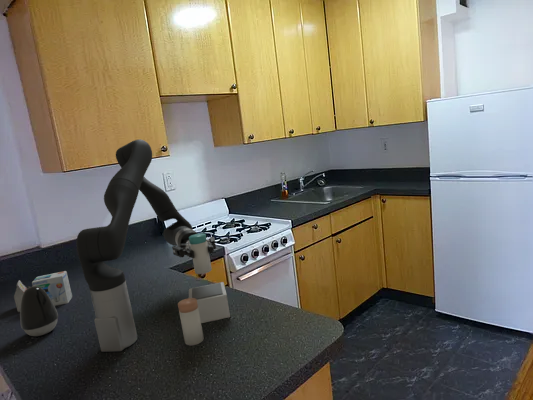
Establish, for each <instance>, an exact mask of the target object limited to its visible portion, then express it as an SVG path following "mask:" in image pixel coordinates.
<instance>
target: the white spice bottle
mask: <svg viewBox="0 0 533 400" xmlns="http://www.w3.org/2000/svg"><path fill="white" fill-rule="evenodd" d="M177 307H178V308H177V309H178V312H179V318H180V323H181V328H182V333H183V340H184V344H185V345H186V346H196V345H198V344H200V343H202V342H203V341H204V340H205V339H204V337H205V336H204V332H203V327H202V323H201V320H200V315H199V309H198V304H197V299H195V298H189V297H188V298H185V299H181V300H180V301H179V302H178V303H177Z"/></svg>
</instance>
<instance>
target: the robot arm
mask: <svg viewBox="0 0 533 400" xmlns="http://www.w3.org/2000/svg"><path fill="white" fill-rule="evenodd" d="M115 159H116V161H117V163H118V165H119V166H120V167H121V168H120V169H119V170H118V171H117V172H116V173H115V174H114V176H112V177H111V179H110V181H109V182H108V185H107V187H106V189H105V192H104V195H103V201H104V205H105V207H106V210H107V211H108V213H110V215H111V220H110V223H109V224H108V225H105V226H99V227H97V226H96V227H90V228H85V229H81V230H80V231H79V232H78V235H77V236H76V241H75V243H76V250H77V251H76V252H77V255H78V259H79V262H80V265H81V270H82V274H83V276H84V280H85V282H86V283H87V285H88V290H89V293H90V296H91V303H92V305H93V310H94V315H95V318H94V326H95V330H96V334H97V339H98V342H99V346H100V351H101V352H103V353H104V352H122V351H123V350H124V349H126V348H128V347H130V346H132V345H133V344H135V342H136V341H137V340H138V333H137V329H136V324H135V320H134V314H133V309H132V305H131V300H130V296H129V290H128V286H127V280H126V276H125V272H124V271H123V270H122V269H120V268H117V267H116V268H115V267H113V266H110V265H108V264H106V263H105V262H109V261H114V260H117V259H119V258H120V257H121V256H122V254H123V252H124V249H125V246H126V240H127V236H128V235H127V234H128V230H129V224H130V221H131V217H132V214H133V210H134V207H135V205H136V203H137V199H138V196H139V192H141V194H142V195H143V196H144V197H145V199H146V200H147V202H148V203H149V205H150V207H151V208H152V210H153V211H154V213H155V214H156V217H157V218H158V219H159V221H161V222H167V221H169V220H173V219H174V220H176V221H175V222H174V223H172V224H170V225H168V226H167V227H165V229H164V230H163V238H164V240H165V241H166V242H167V243H168V244H169V245H171V246H172V247H171V249H172V254H173V255H174V256H176V257H179V258H184V257H185V256H186V257H188V258H191V259H193V258H195V257H194V251H193V250H192V249H191V247H190V242H189V237H190V236H192V235H195V234H199V232H197V231H196V230H194V229H193V226H192V224H191V223H190V222H189V221H188V220H187V219H186V218H185V217H184V216H182V214H181V213H180V212H179V210H178V209H177V208H176V206H175V205H174V203H173V201H172V199H171V198H170V196H169V195H168V194H167V192H166V191H164V189H163V188H161V187H159V186H158V185H156V184H154V183H153V182H151V181H150V180H148V179H147V178H146V177H145V175H146V172H147V171H148V169H149V167H150V165H151V163H152V160H153V150H152V147H151V146H150V144H149V143H148V142H147V141H146V140H144V139H135V140H132V141H130V142H129V143H126V144H124V145H122V146H120V147H119V148H118V149H117V150H116V152H115ZM207 245H208V251H209V255H210V254H214V252H215V250H216V249H217V246H216V239H215V237H214V236H211V237H210V238H208V239H207Z"/></svg>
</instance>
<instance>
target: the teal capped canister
mask: <svg viewBox="0 0 533 400" xmlns="http://www.w3.org/2000/svg"><path fill="white" fill-rule="evenodd" d="M207 240H208V239H207V234H206V233H198V234H195V235H192V236H190V237H189V242H190V247H191V249H192V250H193V251H194V257H195V258H192V263H193V264H192V265H193V268H194V272H195V273H194V274H197V275H204V274H207V273H210V272H211V271H212V269H213V267H212V263H211V257H210V253H209V251H208V245H207Z"/></svg>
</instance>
